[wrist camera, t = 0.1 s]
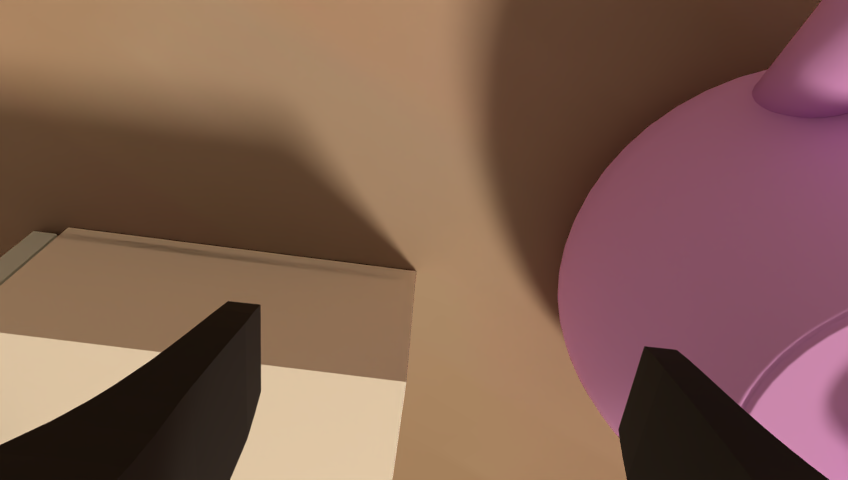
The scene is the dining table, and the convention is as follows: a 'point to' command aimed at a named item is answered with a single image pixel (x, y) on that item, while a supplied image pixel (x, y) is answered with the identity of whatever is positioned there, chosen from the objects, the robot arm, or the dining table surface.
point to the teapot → (729, 248)
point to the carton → (189, 305)
